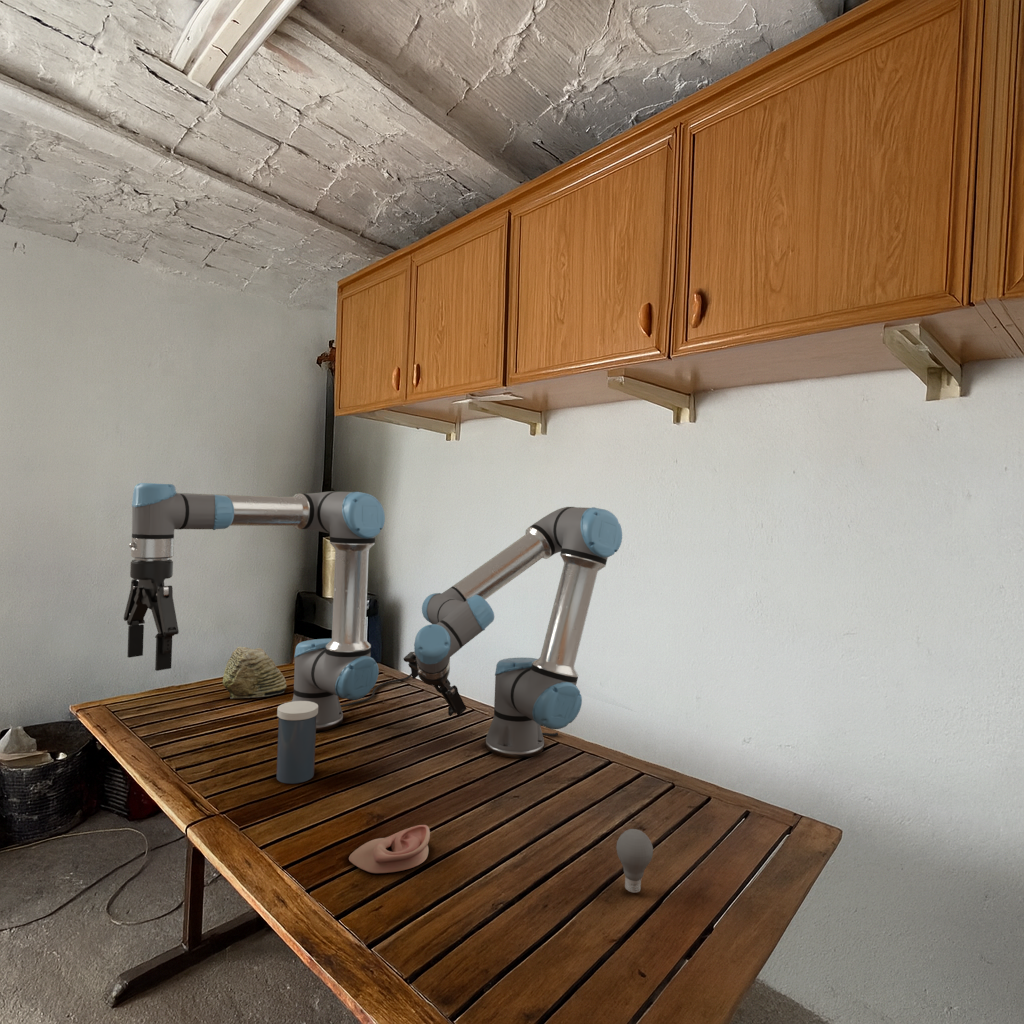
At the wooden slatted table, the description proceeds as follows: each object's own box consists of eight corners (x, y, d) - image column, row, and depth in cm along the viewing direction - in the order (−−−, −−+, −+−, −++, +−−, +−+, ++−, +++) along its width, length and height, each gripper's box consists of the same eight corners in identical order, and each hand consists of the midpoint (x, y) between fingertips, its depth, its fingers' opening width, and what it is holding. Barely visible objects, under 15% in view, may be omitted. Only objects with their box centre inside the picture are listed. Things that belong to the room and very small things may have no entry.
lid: (276, 709, 145) (276, 702, 145) (316, 706, 149) (316, 699, 149) (278, 722, 137) (278, 715, 137) (319, 718, 141) (320, 711, 141)
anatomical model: (341, 845, 108) (369, 813, 120) (340, 868, 108) (368, 833, 120) (414, 857, 106) (436, 823, 117) (413, 880, 106) (435, 844, 117)
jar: (275, 770, 145) (278, 704, 145) (312, 766, 148) (315, 701, 148) (277, 785, 138) (279, 716, 138) (315, 781, 141) (318, 713, 141)
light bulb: (610, 879, 108) (613, 822, 108) (644, 879, 109) (647, 822, 109) (619, 902, 102) (622, 840, 102) (655, 901, 103) (658, 840, 103)
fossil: (218, 695, 195) (220, 647, 195) (278, 685, 208) (279, 640, 207) (228, 703, 189) (230, 653, 188) (289, 692, 201) (290, 645, 201)
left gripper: (108, 554, 134) (104, 654, 134) (159, 565, 118) (155, 678, 119) (146, 552, 140) (143, 648, 140) (199, 563, 124) (195, 671, 124)
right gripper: (384, 638, 148) (391, 669, 166) (459, 714, 140) (458, 738, 157) (409, 617, 151) (413, 650, 169) (483, 691, 143) (479, 716, 161)
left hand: (148, 662), depth 129 cm, fingers open, 13 cm apart
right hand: (434, 692), depth 163 cm, fingers open, 13 cm apart
